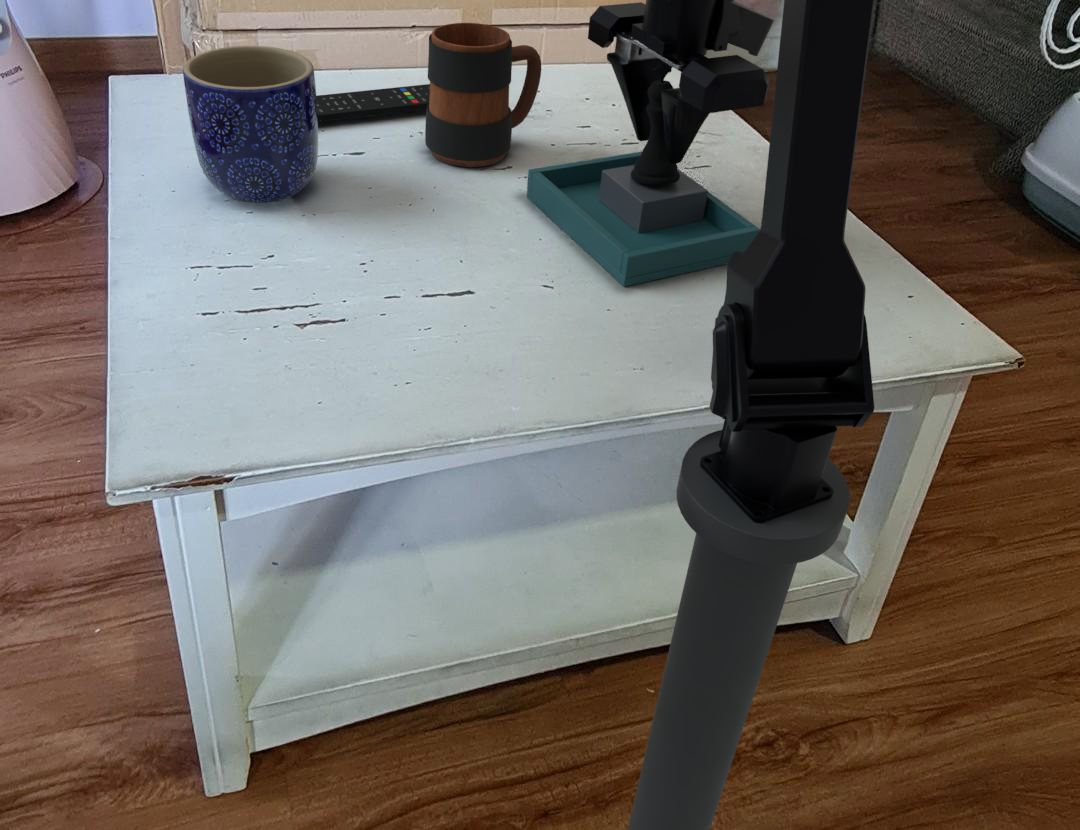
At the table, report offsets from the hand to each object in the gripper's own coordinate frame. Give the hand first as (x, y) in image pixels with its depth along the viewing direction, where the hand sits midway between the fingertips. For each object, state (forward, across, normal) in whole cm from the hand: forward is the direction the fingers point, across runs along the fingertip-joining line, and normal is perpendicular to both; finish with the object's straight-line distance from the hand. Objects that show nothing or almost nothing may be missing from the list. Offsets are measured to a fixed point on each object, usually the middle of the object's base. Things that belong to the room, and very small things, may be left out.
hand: (658, 151), depth 88 cm
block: (+6, 0, 0) cm, 6 cm away
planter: (+7, +18, +31) cm, 36 cm away
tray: (+6, -1, +2) cm, 7 cm away
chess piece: (+3, 0, 0) cm, 3 cm away
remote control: (+7, +32, +17) cm, 37 cm away
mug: (+7, +19, +8) cm, 22 cm away
